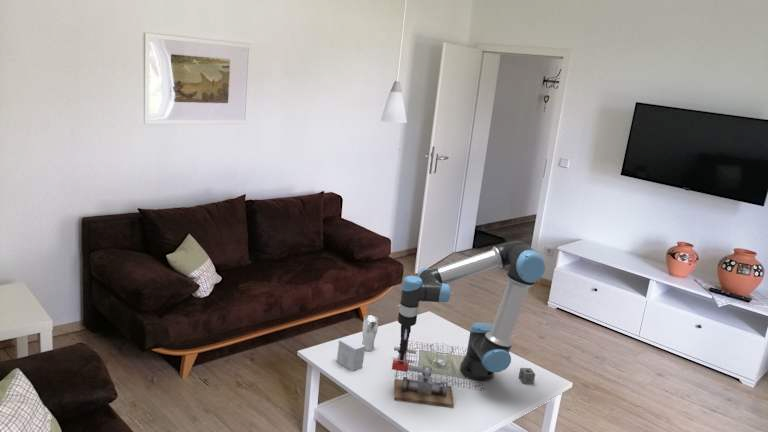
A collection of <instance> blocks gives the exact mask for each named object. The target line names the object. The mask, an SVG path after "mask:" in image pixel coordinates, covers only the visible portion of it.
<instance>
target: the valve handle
mask: <svg viewBox="0 0 768 432" xmlns="http://www.w3.org/2000/svg"><path fill="white" fill-rule="evenodd" d="M391 370H394V371H398V372H402V373H408V371H409V372H415V373H418V374H419V373H420V374H421V375H423V376H426V377H429V376H431V377H432V370H433V368H432V367H431V366H429V365H423V367H422V366H417V365H412V364H410V363H409V362H407V361H404V362H403V361H398V359H397V360H396V359H393V360H392V366H391Z"/></svg>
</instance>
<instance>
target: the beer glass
mask: <svg viewBox="0 0 768 432" xmlns="http://www.w3.org/2000/svg"><path fill="white" fill-rule="evenodd" d="M378 327H379V318H378V317H377V316H374V315H371V314H370V315H365V316H364V318H363V322H362V343H361V344H362V345H364V346H365V351H366V352H372V351H373V350H375V339H376V337H377V333H378V329H379V328H378ZM365 351H364V352H365Z"/></svg>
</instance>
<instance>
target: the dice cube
mask: <svg viewBox="0 0 768 432" xmlns="http://www.w3.org/2000/svg"><path fill="white" fill-rule="evenodd" d="M535 377H536V373H535V372H534V371H533V369H532V368H531V367H520V368H519V373H518V379H519V380H520V382H521V383H522V384H523V385H528V384H529V385H533V384H534V381H535Z"/></svg>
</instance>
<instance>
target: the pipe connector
mask: <svg viewBox="0 0 768 432" xmlns="http://www.w3.org/2000/svg"><path fill="white" fill-rule="evenodd" d="M399 348H400V346H395V345H394V348H393V350H394V351H397V352H398V350H400V349H399ZM408 353H410V354H414V355H415V354H417V349H414V348H409V339H408V343H407V351H406V354H405V361H404V362H407V361H406V360H407V355H408Z"/></svg>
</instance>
